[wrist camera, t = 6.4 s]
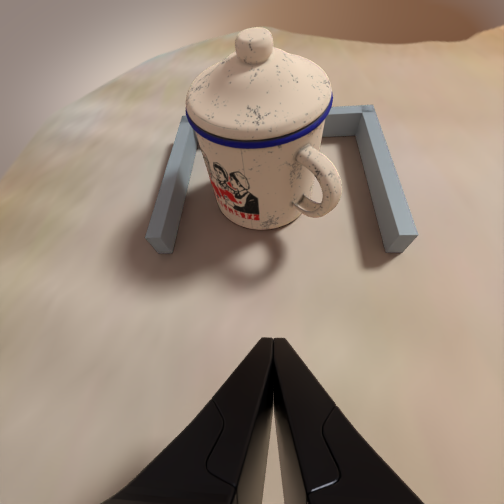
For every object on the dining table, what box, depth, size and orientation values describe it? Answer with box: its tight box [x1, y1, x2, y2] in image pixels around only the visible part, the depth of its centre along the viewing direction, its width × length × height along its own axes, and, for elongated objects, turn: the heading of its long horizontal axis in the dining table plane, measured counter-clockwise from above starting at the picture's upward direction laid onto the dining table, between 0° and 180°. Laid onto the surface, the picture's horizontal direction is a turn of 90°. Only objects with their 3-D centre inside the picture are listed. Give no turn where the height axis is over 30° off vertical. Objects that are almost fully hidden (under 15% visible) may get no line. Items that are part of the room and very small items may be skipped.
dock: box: [145, 105, 418, 253], centre depth 22 cm, size 15×19×2 cm
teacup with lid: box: [186, 27, 342, 230], centre depth 17 cm, size 12×9×12 cm
